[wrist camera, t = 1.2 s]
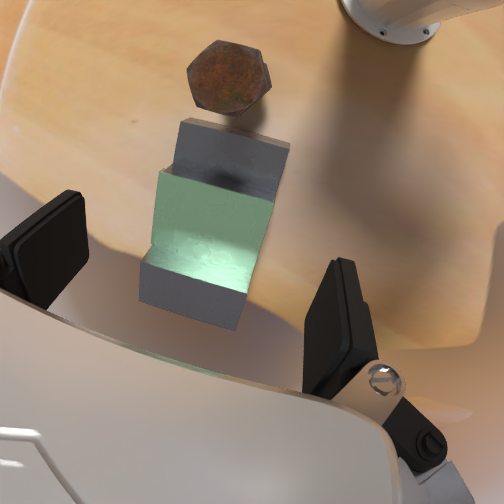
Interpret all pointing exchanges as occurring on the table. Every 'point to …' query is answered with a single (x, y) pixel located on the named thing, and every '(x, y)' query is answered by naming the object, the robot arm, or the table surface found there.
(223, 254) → the stepped stand
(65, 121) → the table surface
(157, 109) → the table surface
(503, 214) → the table surface
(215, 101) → the bolt
